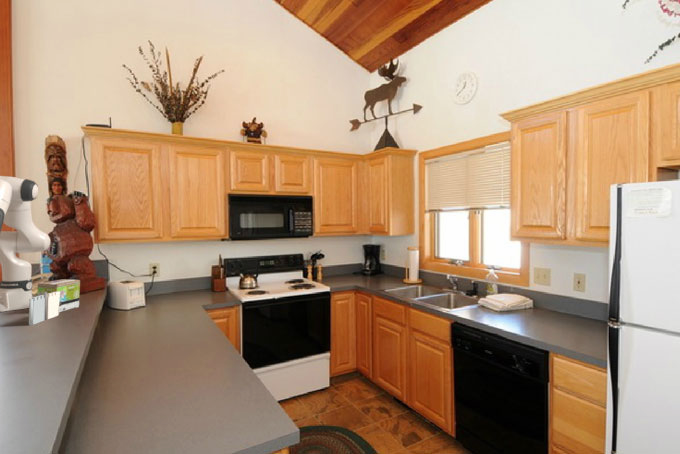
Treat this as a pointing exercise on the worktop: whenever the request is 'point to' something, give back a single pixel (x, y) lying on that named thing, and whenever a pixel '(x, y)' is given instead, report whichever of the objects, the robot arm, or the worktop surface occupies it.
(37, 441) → the worktop surface
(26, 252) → the robot arm
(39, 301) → the blue-grey fence panel
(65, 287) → the tea box
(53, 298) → the white fence panel
